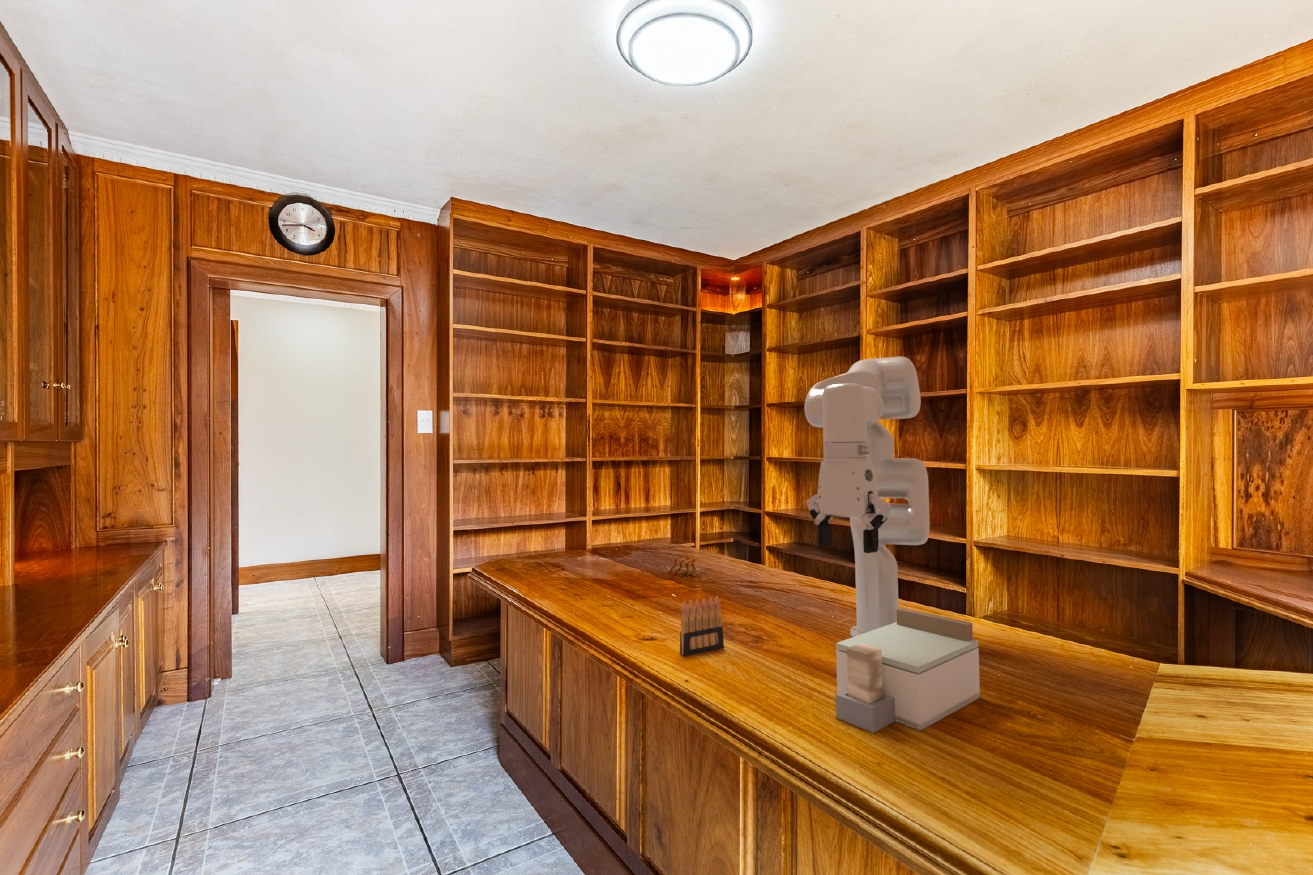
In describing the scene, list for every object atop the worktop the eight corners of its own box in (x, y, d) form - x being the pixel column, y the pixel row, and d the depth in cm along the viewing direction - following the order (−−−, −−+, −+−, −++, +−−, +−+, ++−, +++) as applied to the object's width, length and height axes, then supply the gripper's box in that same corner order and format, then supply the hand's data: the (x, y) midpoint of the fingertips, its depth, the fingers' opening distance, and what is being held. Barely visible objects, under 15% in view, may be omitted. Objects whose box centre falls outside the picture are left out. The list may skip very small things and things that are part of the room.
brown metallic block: (862, 712, 109) (860, 643, 109) (883, 720, 106) (881, 648, 106) (848, 718, 107) (846, 648, 107) (869, 727, 103) (867, 654, 103)
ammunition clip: (683, 656, 139) (682, 602, 139) (679, 654, 141) (678, 600, 141) (724, 648, 144) (722, 595, 144) (719, 645, 146) (718, 594, 146)
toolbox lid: (898, 626, 126) (897, 606, 126) (978, 645, 114) (977, 623, 114) (836, 648, 114) (835, 626, 114) (918, 673, 102) (917, 648, 102)
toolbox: (899, 672, 126) (898, 627, 126) (979, 697, 114) (978, 647, 114) (815, 709, 111) (813, 658, 111) (898, 742, 98) (896, 685, 98)
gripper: (901, 452, 108) (903, 552, 107) (820, 453, 122) (822, 542, 121) (874, 452, 103) (877, 557, 103) (793, 453, 117) (795, 546, 117)
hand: (847, 549), depth 112 cm, fingers open, 9 cm apart
